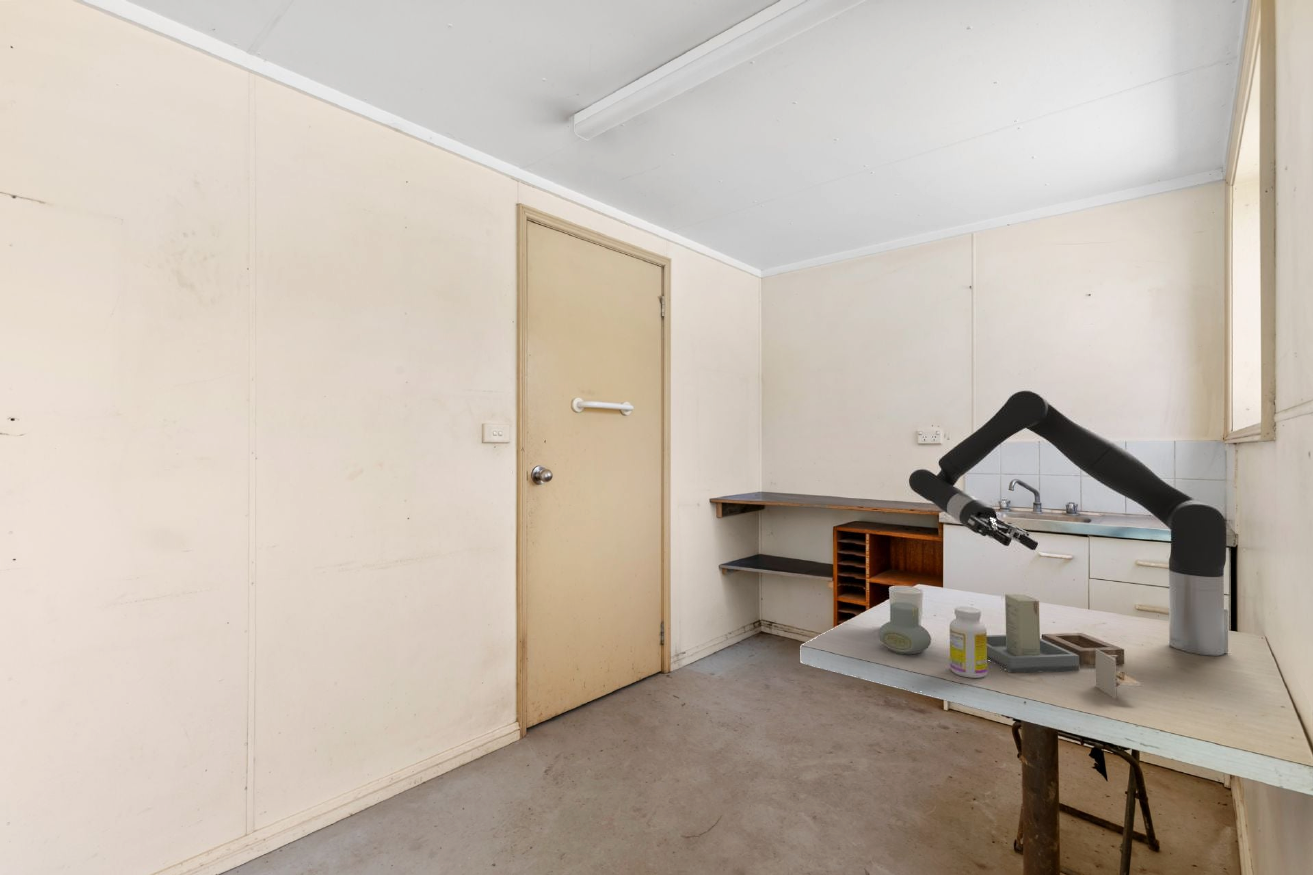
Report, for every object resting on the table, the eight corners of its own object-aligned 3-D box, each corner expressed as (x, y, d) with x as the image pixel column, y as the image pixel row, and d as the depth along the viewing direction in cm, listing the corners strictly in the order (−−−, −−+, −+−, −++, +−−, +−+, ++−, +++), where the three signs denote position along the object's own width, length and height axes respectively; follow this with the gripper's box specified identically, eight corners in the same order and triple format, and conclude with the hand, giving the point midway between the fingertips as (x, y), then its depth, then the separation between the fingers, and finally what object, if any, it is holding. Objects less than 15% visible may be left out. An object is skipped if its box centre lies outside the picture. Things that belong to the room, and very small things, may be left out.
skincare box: (1041, 659, 125) (1041, 601, 125) (1019, 659, 126) (1019, 600, 126) (1025, 649, 132) (1025, 593, 132) (1004, 648, 132) (1004, 593, 132)
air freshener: (936, 651, 133) (936, 606, 133) (922, 661, 127) (922, 614, 127) (887, 640, 141) (887, 597, 141) (872, 649, 135) (872, 604, 135)
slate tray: (1029, 647, 136) (1029, 633, 136) (1079, 670, 122) (1079, 655, 122) (967, 649, 135) (967, 635, 135) (1010, 673, 121) (1010, 658, 121)
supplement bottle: (985, 670, 122) (985, 607, 123) (988, 681, 116) (988, 615, 117) (949, 664, 125) (949, 603, 125) (950, 676, 119) (949, 611, 119)
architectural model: (1114, 688, 114) (1113, 649, 114) (1139, 704, 107) (1139, 662, 107) (1095, 687, 115) (1094, 648, 115) (1119, 703, 108) (1118, 661, 108)
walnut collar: (1082, 646, 137) (1082, 632, 137) (1124, 663, 126) (1124, 649, 126) (1041, 647, 136) (1041, 634, 136) (1080, 665, 125) (1080, 651, 125)
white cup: (925, 628, 150) (925, 588, 150) (920, 636, 143) (920, 595, 144) (892, 623, 154) (892, 584, 154) (886, 631, 148) (885, 590, 148)
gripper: (955, 495, 149) (1007, 526, 135) (997, 503, 154) (1051, 534, 140) (943, 521, 151) (993, 555, 137) (985, 528, 156) (1037, 561, 142)
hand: (1022, 544), depth 138 cm, fingers open, 8 cm apart
